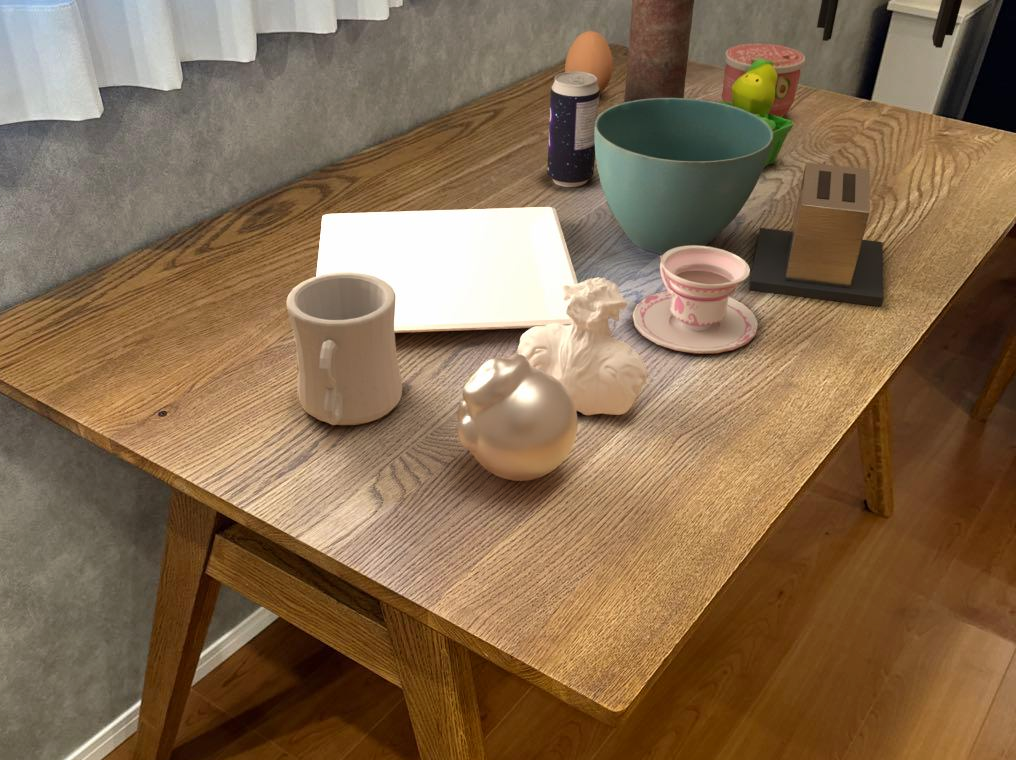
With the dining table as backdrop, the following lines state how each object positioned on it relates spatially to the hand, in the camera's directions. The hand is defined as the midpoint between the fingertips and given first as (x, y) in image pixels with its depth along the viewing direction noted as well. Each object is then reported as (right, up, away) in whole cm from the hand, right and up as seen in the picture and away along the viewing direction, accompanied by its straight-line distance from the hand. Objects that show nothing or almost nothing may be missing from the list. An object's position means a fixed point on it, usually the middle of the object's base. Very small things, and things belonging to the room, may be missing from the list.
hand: (881, 39), depth 93 cm
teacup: (-16, -25, +6) cm, 30 cm away
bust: (-28, -33, -3) cm, 43 cm away
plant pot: (-16, -13, +20) cm, 28 cm away
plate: (-40, -19, +13) cm, 46 cm away
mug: (-48, -35, -5) cm, 60 cm away
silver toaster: (-1, -16, +14) cm, 21 cm away
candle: (-15, +3, +38) cm, 41 cm away
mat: (-1, -17, +14) cm, 22 cm away
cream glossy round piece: (-34, -40, -11) cm, 54 cm away
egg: (-21, +18, +55) cm, 61 cm away
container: (+2, +13, +49) cm, 51 cm away
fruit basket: (-4, +3, +38) cm, 38 cm away
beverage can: (-26, -2, +32) cm, 41 cm away
